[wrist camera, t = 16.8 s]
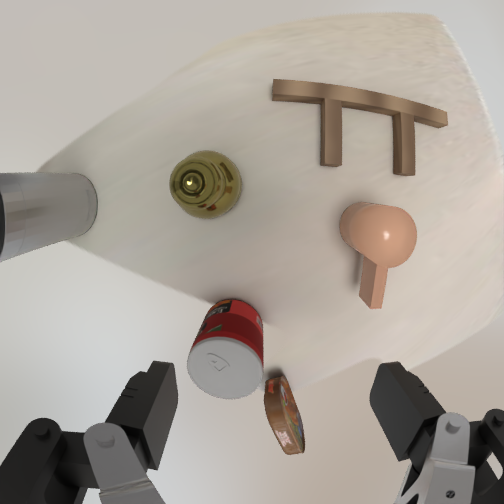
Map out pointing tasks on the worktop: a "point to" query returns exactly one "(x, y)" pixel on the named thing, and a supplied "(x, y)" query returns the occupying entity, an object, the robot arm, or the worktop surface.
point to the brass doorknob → (206, 184)
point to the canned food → (228, 351)
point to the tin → (284, 415)
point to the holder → (365, 100)
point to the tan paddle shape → (378, 244)
